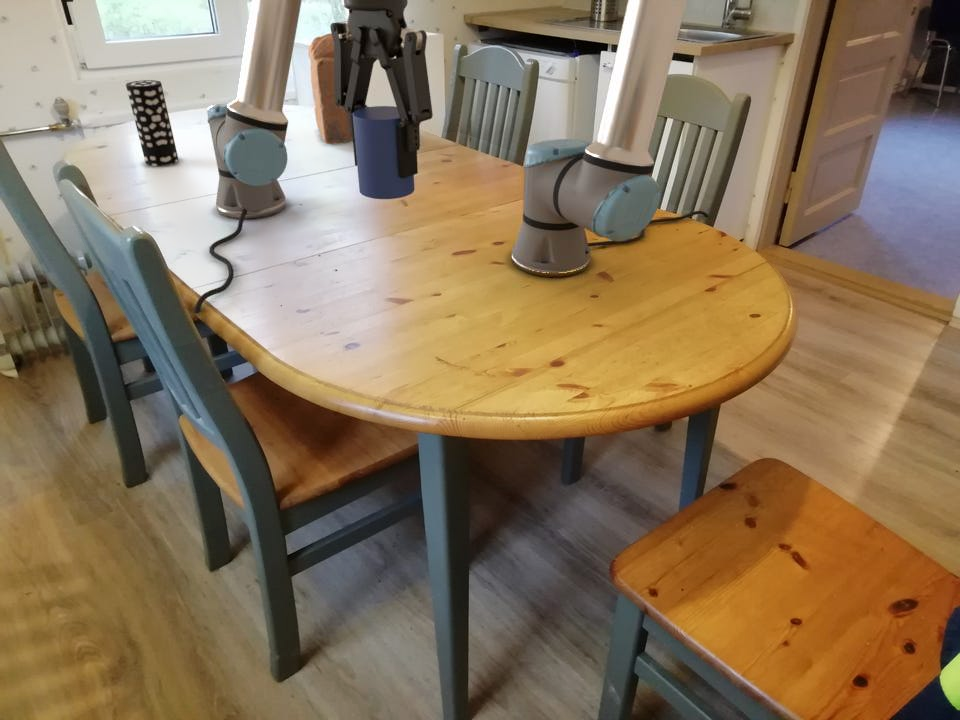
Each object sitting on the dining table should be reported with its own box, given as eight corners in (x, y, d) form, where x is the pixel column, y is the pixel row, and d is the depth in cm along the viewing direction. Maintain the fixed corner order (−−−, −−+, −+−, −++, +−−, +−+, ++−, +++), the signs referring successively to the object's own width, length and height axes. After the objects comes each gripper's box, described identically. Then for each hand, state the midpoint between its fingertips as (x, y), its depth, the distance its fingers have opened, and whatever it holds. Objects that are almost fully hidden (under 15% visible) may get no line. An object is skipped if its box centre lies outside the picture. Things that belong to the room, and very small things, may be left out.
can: (425, 188, 93) (422, 111, 87) (389, 203, 88) (384, 122, 82) (384, 177, 96) (379, 103, 91) (348, 191, 91) (340, 113, 86)
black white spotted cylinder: (184, 157, 190) (167, 80, 179) (169, 166, 183) (151, 87, 172) (155, 156, 190) (136, 79, 179) (139, 165, 183) (119, 86, 172)
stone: (363, 142, 203) (354, 38, 189) (325, 145, 200) (313, 39, 186) (351, 127, 221) (342, 31, 207) (316, 130, 218) (304, 32, 204)
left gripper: (-134, -137, 94) (-69, 33, 106) (70, -129, 105) (109, 24, 116) (-126, -134, 100) (-65, 27, 111) (67, -127, 110) (104, 19, 122)
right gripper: (288, -33, 81) (312, 161, 93) (417, -24, 71) (424, 193, 83) (336, -36, 86) (353, 149, 98) (463, -28, 76) (463, 177, 88)
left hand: (24, 26), depth 114 cm, fingers open, 13 cm apart
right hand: (385, 169), depth 91 cm, fingers closed on can, 7 cm apart
